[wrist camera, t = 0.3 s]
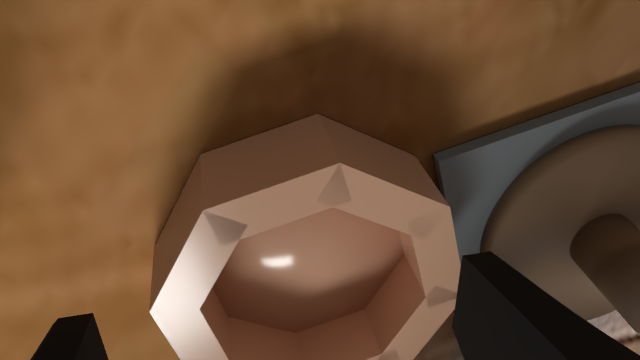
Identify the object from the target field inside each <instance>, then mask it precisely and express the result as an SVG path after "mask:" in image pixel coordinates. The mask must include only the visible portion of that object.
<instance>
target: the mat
mask: <svg viewBox="0 0 640 360" xmlns="http://www.w3.org/2000/svg"><path fill="white" fill-rule="evenodd" d="M627 124H635V125H640V82H639V83H636V84H633V85H630V86H627V87H624V88H621V89H618V90H616V91H613V92H610V93H607V94H604V95H601V96H598V97H595V98H593V99H590V100H587V101H584V102H581V103H578V104H575V105H572V106H570V107H567V108H564V109H561V110H558V111H555V112H552V113H549V114H547V115H544V116H541V117H538V118H535V119H532V120H529V121H526V122H524V123H521V124H518V125H515V126H512V127H509V128H506V129H503V130H501V131H498V132H495V133H492V134H489V135H486V136H483V137H480V138H478V139H475V140H472V141H469V142H466V143H463V144H460V145H457V146H455V147H452V148H449V149H446V150H443V151H440V152H437V153H434V154H433V157H434V162H435V168H436V173H437V178H438V184H439V189H440V193H441V194H442V196H443V197H444V199H445V200H446V202H447V203H448V205H449V206H450V209H451V215H452V220H453V226H454V231H455V237H456V243H457V248H458V254H459V260H460V265H461V261H462V256H463V255H469V254H476V253H480V243H481V238H482V235H483V231H484V228H485V225H486V223H487V220H488V218H489V216H490V214H491V212H492V210H493V208H494V206H495V205H496V203H497V201H498V200H499V199H500V197H501V196H502V194H503V193H504V191H505V190H506V189H507V188H508V187H509V185H510V184H511V183H512V182H513V181H514V180H515V179H516V178H517V177H518V176H519V175H520V174H521V173H522V172H523V171H524V170H525V169H526V168H527V167H528V166H529V165H531V164H532V163H533V162H534V161H536V160H537V159H538V158H539V157H541V156H542V155H544V154H545V153H547V152H548V151H550V150H551V149H553V148H554V147H556V146H558V145H560V144H562V143H564V142H565V141H567V140H569V139H571V138H574V137H576V136H579V135H581V134H583V133H586V132H589V131H592V130H596V129H599V128H603V127H609V126H615V125H627Z"/></svg>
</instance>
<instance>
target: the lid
mask: <svg viewBox="0 0 640 360" xmlns="http://www.w3.org/2000/svg"><path fill="white" fill-rule="evenodd" d="M488 251H491V252H492V253H494V254H495V255H496V256H498V257H499V258H501V259H502V260H503V261H505V262H506V263H508V264H509V265H510V266H512V267H513V268H514V269H516V270H517V271H518V272H520V273H521V274H522V275H524V276H525V277H526V278H528V279H529V280H530V281H532V282H533V283H534V284H536V285H537V286H538V287H540V288H541V289H542V290H544V291H545V292H547V293H548V294H549V295H551V296H552V297H553V298H555V299H556V300H557V301H559V302H560V303H562V304H563V305H564V306H566V307H567V308H569V309H570V310H571V311H573V312H574V313H576V314H577V315H579V316H580V317H581V318H583V319H584V320H586V321H587V320H590V319H593V318H597V317H600V316H602V315H605V314H607V313H610V312H612V311H614V310H617V311H618V312H619V313H620V314H621V316H622V317H623V318H624V319H625V320H626V321H627V322H628V324H629V325H630V326H631V327H632V328H633V329H634V330H635V331H636V332H638V333H640V125H635V124H627V125H615V126H609V127H603V128H599V129H596V130H592V131H589V132H586V133H583V134H581V135H579V136H576V137H574V138H571V139H569V140H567V141H565V142H564V143H562V144H560V145H558V146H556V147H554V148H553V149H551V150H550V151H548V152H547V153H545V154H544V155H542V156H541V157H539V158H538V159H537V160H536V161H534V162H533V163H532V164H531V165H529V166H528V167H527V168H526V169H525V170H524V171H523V172H522V173H521V174H520V175H519V176H518V177H517V178H516V179H515V180H514V181H513V182H512V183H511V184H510V185H509V187H508V188H507V189H506V190H505V191H504V193H503V194H502V196H501V197H500V199H499V200H498V201H497V203H496V205H495V206H494V208H493V210H492V212H491V214H490V216H489V218H488V220H487V223H486V225H485V228H484V231H483V235H482V238H481V243H480V253H482V252H488Z"/></svg>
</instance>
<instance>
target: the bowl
mask: <svg viewBox="0 0 640 360" xmlns="http://www.w3.org/2000/svg"><path fill="white" fill-rule="evenodd" d="M460 268H461V265H460V260H459V254H458V248H457V243H456V237H455V231H454V226H453V220H452V215H451V209H450V206H449V205H448V203H447V202H446V200H445V199H444V197H443V196H442V194H441V193H440V191H439V190H438V188H437V187H436V186H435V184H434V183H433V181H432V180H431V178H430V177H429V175H428V174H427V172H426V171H425V170H424V168H423V167H422V165H421V164H420V162H419V161H418V159H417V158H416V156H414V155H412V154H410V153H407V152H405V151H403V150H400V149H398V148H396V147H393V146H391V145H389V144H387V143H384V142H382V141H380V140H377V139H375V138H373V137H370V136H368V135H366V134H363V133H361V132H359V131H357V130H354V129H352V128H350V127H347V126H345V125H343V124H340V123H338V122H336V121H333V120H331V119H329V118H327V117H324V116H322V115H320V114H315V115H312V116H309V117H306V118H304V119H301V120H298V121H295V122H292V123H289V124H286V125H283V126H280V127H278V128H275V129H272V130H269V131H266V132H263V133H260V134H257V135H254V136H251V137H249V138H246V139H243V140H240V141H237V142H234V143H231V144H228V145H225V146H223V147H220V148H217V149H214V150H211V151H208V152H205V153H202V154H200V156H199V158H198V160H197V162H196V164H195V166H194V168H193V170H192V172H191V174H190V176H189V178H188V180H187V182H186V184H185V186H184V188H183V190H182V192H181V194H180V196H179V198H178V200H177V202H176V204H175V206H174V208H173V210H172V212H171V214H170V216H169V218H168V220H167V222H166V224H165V226H164V228H163V230H162V232H161V234H160V236H159V238H158V240H157V242H156V244H155V246H154V256H153V270H152V284H151V297H150V311H149V312H150V314H151V315H152V317H153V318H154V320H155V321H156V323H157V324H158V326H159V327H160V329H161V330H162V332H163V333H164V335H165V337H166V338H167V340H168V341H169V343H170V344H171V346H172V347H173V349H174V350H175V352H176V353H177V355H178V356H179V358H180V359H181V360H413V359H414V358H415V357H416V356H417V354H418V353H419V352H420V351H421V349H422V348H423V347H424V346H425V345H426V343H427V342H428V341H429V340H430V338H431V337H432V336H433V335H434V334H435V332H436V331H437V330H438V329H439V327H440V326H441V325H442V324H443V323H444V321H445V320H446V319H447V318H448V316H449V315H450V314H451V313H452V312H453V310H454V309H455V304H456V297H457V289H458V282H459V275H460Z"/></svg>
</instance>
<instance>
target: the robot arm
mask: <svg viewBox="0 0 640 360" xmlns="http://www.w3.org/2000/svg"><path fill="white" fill-rule="evenodd" d="M452 328H453V330H454V333H455V336H456V338H457V341H458V344H459V346H460V349H461V352H462V354H463V357H464V359H465V360H640V355H638V354H636V353H635V352H633V351H632V350H630V349H629V348H627V347H625V346H624V345H622V344H621V343H619V342H618V341H616V340H614V339H613V338H611V337H610V336H608V335H607V334H605V333H604V332H602V331H601V330H599V329H598V328H596V327H595V326H593V325H592V324H590V323H589V322H587V321H586V320H584V319H583V318H581V317H580V316H579V315H577V314H576V313H574V312H573V311H571V310H570V309H569V308H567V307H566V306H564V305H563V304H562V303H560V302H559V301H557V300H556V299H555V298H553V297H552V296H551V295H549V294H548V293H547V292H545V291H544V290H542V289H541V288H540V287H538V286H537V285H536V284H534V283H533V282H532V281H530V280H529V279H528V278H526V277H525V276H524V275H522V274H521V273H520V272H518V271H517V270H516V269H514V268H513V267H512V266H510V265H509V264H508V263H506V262H505V261H503V260H502V259H501V258H499V257H498V256H496V255H495V254H494V253H492V252H491V251H488V252H482V253H476V254H469V255H463V256H462V261H461V268H460V275H459V282H458V289H457V297H456V304H455V311H454V318H453V325H452ZM31 360H108V357H107V354H106V351H105V348H104V345H103V342H102V339H101V336H100V333H99V330H98V327H97V324H96V321H95V318H94V315H93V313H90V314H83V315H77V316H71V317H64V318H58V319H57V320H56V322H55V323H54V324H53V325H52V327H51V328H50V330H49V332H48V333H47V335H46V336H45V338H44V339H43V341H42V343H41V344H40V346H39V347H38V349H37V350H36V352H35V354H34V355H33V357H32V358H31Z"/></svg>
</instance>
